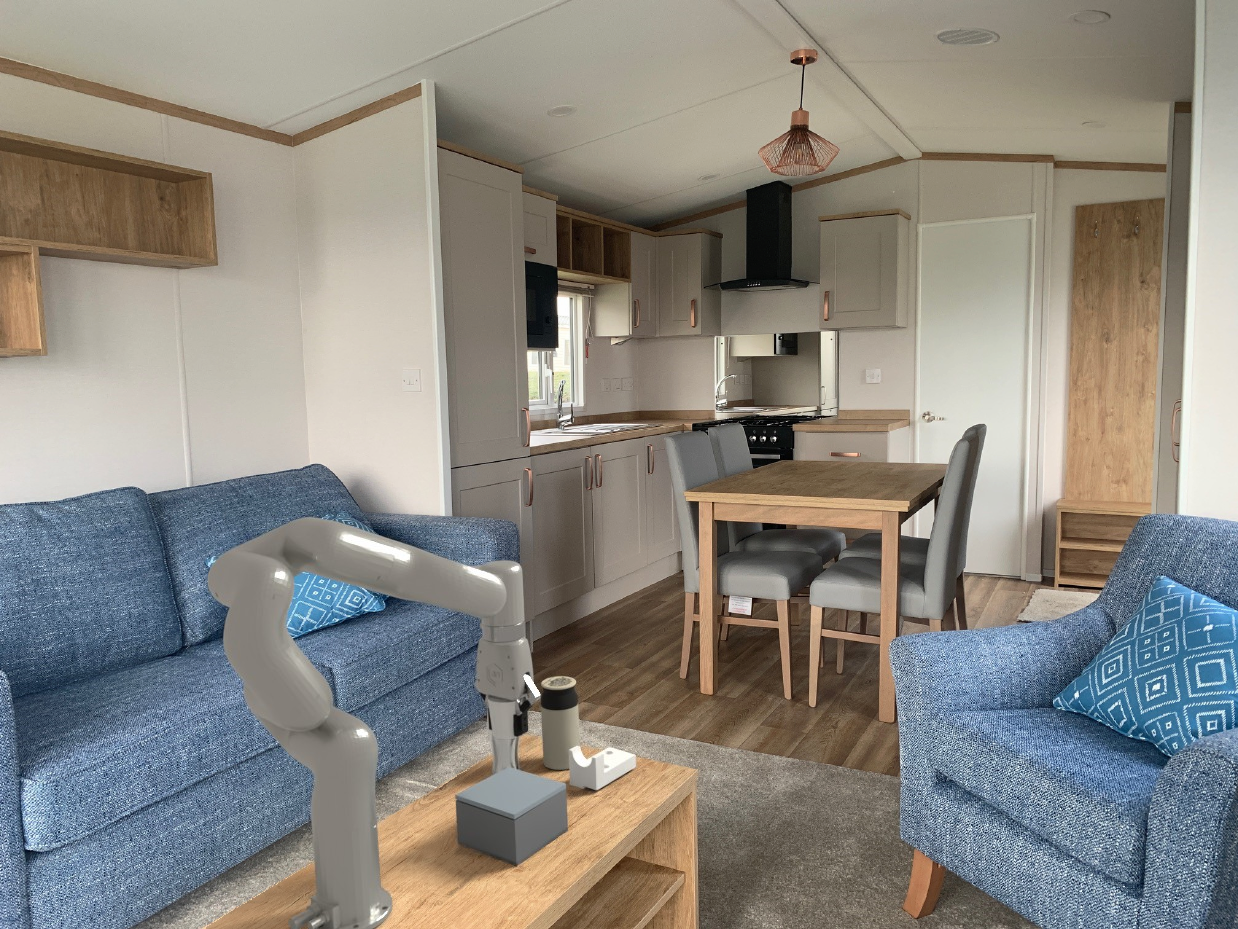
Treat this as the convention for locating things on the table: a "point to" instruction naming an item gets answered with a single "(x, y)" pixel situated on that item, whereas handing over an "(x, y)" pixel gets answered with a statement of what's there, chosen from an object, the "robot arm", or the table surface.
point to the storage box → (512, 829)
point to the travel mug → (559, 721)
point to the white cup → (502, 717)
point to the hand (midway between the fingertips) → (508, 729)
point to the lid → (511, 792)
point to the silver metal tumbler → (503, 752)
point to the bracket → (598, 767)
